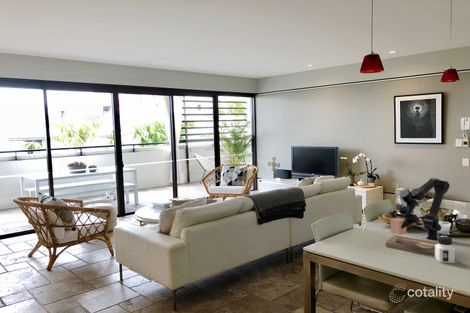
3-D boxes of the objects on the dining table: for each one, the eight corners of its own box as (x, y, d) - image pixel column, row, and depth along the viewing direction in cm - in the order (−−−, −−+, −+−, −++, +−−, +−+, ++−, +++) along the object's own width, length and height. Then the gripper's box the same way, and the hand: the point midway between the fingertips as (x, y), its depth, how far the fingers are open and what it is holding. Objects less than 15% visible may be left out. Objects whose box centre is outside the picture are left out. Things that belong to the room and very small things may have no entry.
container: (454, 263, 197) (455, 239, 196) (439, 262, 198) (439, 238, 197) (449, 258, 204) (450, 235, 203) (434, 257, 206) (435, 234, 205)
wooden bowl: (379, 230, 263) (379, 219, 262) (377, 221, 286) (377, 211, 285) (425, 232, 254) (425, 221, 253) (419, 224, 277) (419, 213, 276)
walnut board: (394, 239, 240) (394, 231, 240) (442, 247, 222) (442, 239, 222) (385, 246, 226) (385, 238, 226) (436, 255, 208) (436, 246, 208)
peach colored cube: (397, 230, 230) (397, 217, 229) (406, 233, 224) (406, 219, 223) (390, 232, 227) (390, 218, 226) (399, 234, 221) (399, 221, 221)
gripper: (390, 196, 234) (378, 215, 230) (416, 201, 217) (403, 222, 213) (398, 207, 238) (386, 226, 234) (425, 213, 222) (412, 233, 217)
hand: (396, 226), depth 225 cm, fingers closed on peach colored cube, 6 cm apart
